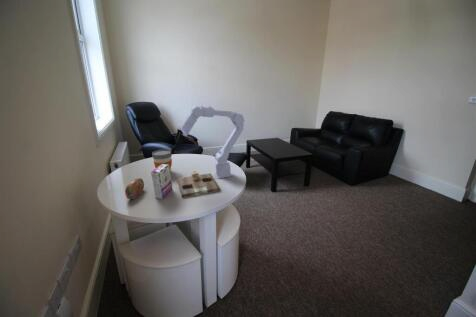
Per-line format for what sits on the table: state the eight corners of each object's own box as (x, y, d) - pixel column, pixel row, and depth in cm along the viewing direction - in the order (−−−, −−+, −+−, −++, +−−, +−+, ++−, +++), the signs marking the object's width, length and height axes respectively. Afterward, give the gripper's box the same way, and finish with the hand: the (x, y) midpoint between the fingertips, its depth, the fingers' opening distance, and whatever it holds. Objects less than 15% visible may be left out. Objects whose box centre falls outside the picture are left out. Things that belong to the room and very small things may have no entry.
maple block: (197, 176, 142) (197, 171, 141) (199, 179, 138) (198, 173, 137) (191, 177, 141) (191, 171, 139) (192, 180, 137) (192, 174, 136)
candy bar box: (165, 189, 130) (161, 163, 125) (172, 189, 129) (169, 164, 124) (154, 198, 120) (150, 171, 114) (163, 199, 119) (159, 172, 113)
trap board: (210, 176, 147) (210, 173, 147) (219, 190, 128) (219, 187, 127) (177, 181, 140) (177, 178, 139) (181, 197, 121) (181, 194, 120)
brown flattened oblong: (131, 202, 117) (128, 188, 114) (125, 201, 117) (123, 187, 114) (145, 188, 131) (143, 176, 128) (140, 188, 131) (138, 175, 128)
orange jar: (176, 169, 158) (174, 150, 153) (168, 176, 147) (165, 155, 141) (160, 168, 160) (157, 149, 155) (151, 175, 149) (148, 154, 144)
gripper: (181, 117, 134) (169, 136, 136) (184, 123, 122) (171, 143, 123) (191, 124, 138) (179, 141, 139) (195, 129, 125) (182, 149, 127)
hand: (176, 142), depth 132 cm, fingers open, 7 cm apart
